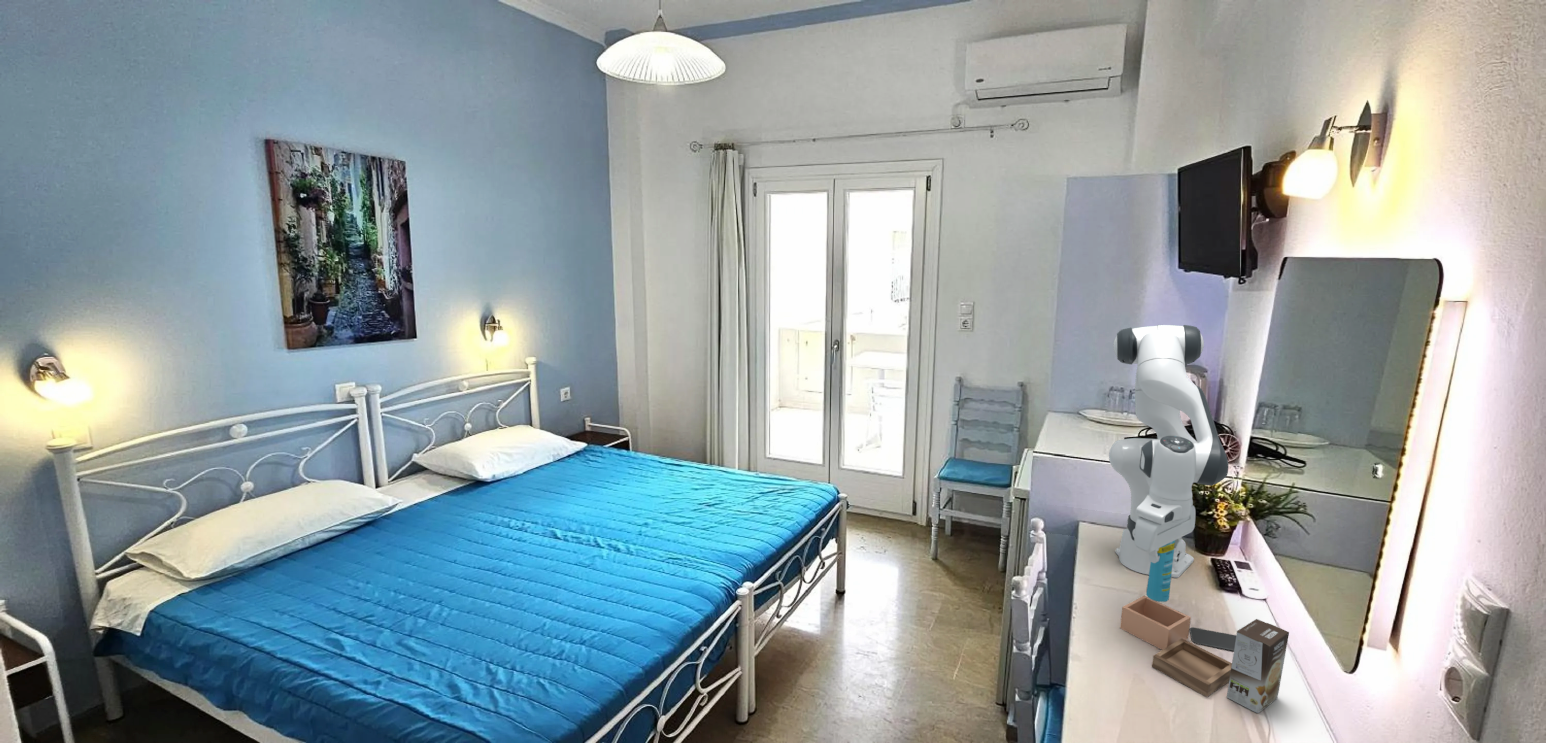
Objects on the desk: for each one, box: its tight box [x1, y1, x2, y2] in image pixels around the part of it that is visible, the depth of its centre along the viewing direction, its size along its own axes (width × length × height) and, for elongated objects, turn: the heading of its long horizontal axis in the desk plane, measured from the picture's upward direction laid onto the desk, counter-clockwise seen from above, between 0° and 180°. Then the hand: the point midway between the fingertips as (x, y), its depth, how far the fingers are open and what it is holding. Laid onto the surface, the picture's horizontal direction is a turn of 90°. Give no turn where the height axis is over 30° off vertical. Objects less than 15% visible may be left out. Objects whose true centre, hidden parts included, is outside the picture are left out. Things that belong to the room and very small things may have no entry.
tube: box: [1145, 540, 1175, 603], centre depth 164 cm, size 7×5×19 cm, turn 123°
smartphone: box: [1189, 626, 1237, 653], centre depth 164 cm, size 7×1×15 cm
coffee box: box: [1226, 618, 1290, 714], centre depth 144 cm, size 9×6×16 cm
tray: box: [1151, 638, 1232, 698], centre depth 154 cm, size 12×12×3 cm
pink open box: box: [1119, 595, 1192, 651], centre depth 168 cm, size 10×12×6 cm
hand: (1162, 556), depth 164 cm, fingers closed on tube, 6 cm apart
